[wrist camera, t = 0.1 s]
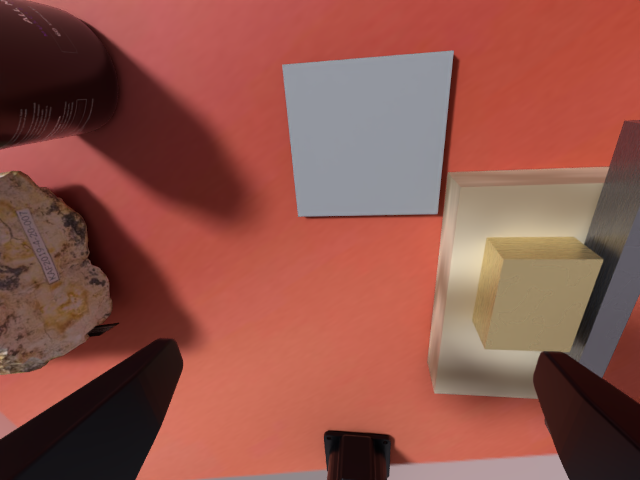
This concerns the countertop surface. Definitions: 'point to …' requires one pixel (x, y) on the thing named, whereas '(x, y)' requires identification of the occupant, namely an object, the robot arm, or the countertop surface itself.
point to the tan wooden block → (533, 292)
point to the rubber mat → (368, 133)
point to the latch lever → (613, 256)
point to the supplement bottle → (51, 75)
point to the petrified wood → (45, 278)
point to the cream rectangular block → (466, 260)
